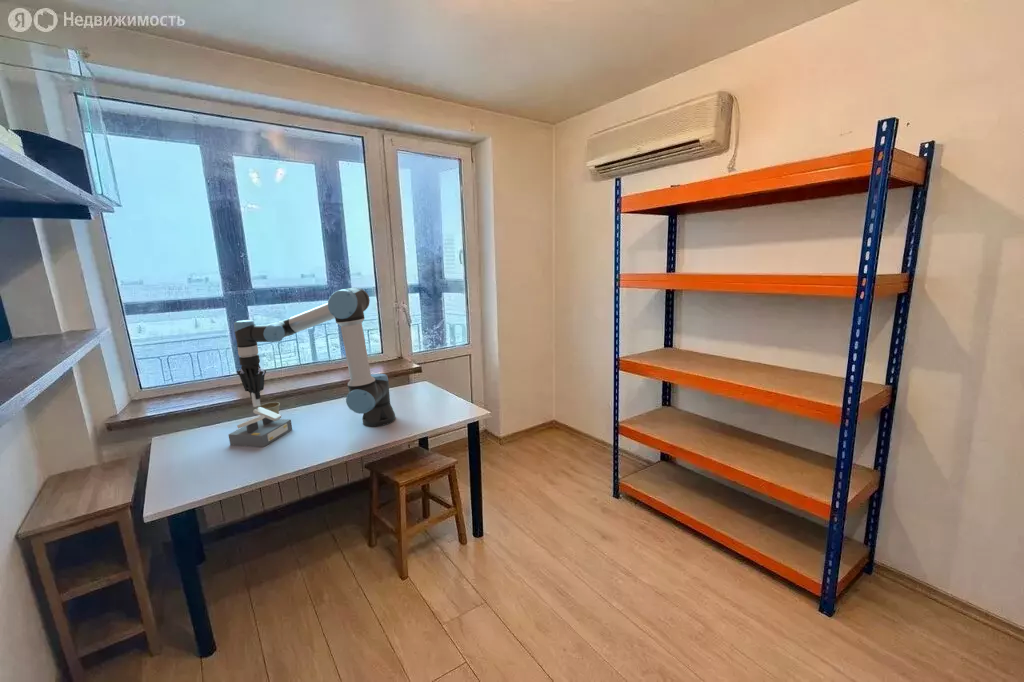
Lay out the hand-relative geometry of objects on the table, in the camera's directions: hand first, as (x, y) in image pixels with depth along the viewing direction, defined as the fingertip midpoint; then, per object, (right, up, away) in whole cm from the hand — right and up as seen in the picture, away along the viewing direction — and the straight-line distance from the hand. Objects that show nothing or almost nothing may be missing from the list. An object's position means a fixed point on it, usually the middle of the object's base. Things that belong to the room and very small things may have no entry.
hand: (256, 405), depth 186 cm
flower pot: (-2, -11, +15) cm, 18 cm away
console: (+4, -14, -3) cm, 15 cm away
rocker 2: (+5, -4, 0) cm, 6 cm away
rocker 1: (+3, -6, -9) cm, 11 cm away
